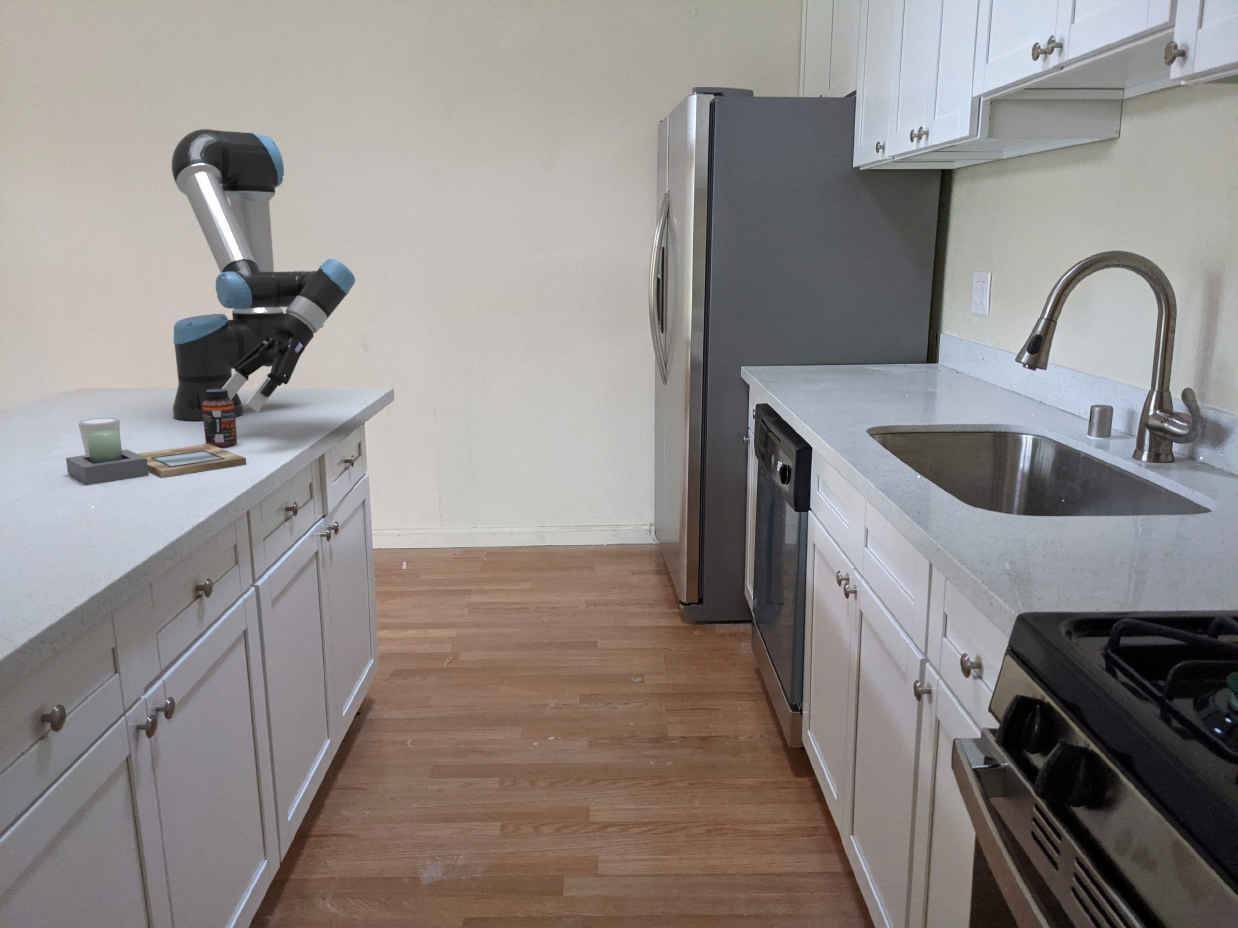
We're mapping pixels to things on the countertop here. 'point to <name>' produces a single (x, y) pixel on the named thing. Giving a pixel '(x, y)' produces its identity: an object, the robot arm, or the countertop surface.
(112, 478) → the button housing
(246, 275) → the robot arm
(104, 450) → the button
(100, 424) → the shot glass
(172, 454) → the board
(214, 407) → the supplement bottle
